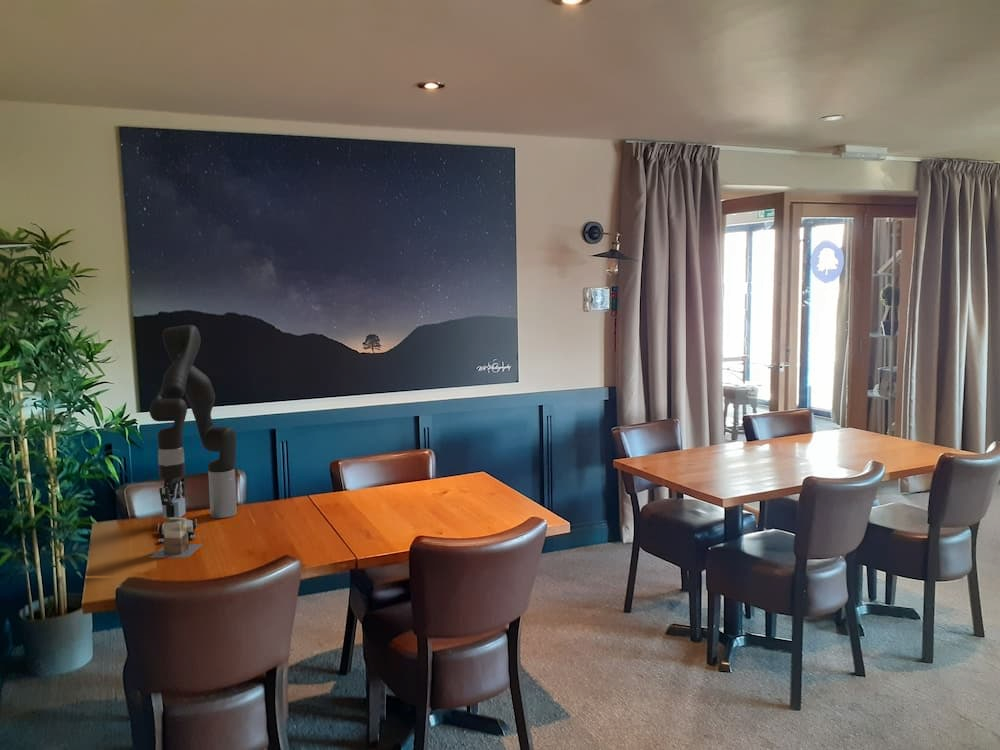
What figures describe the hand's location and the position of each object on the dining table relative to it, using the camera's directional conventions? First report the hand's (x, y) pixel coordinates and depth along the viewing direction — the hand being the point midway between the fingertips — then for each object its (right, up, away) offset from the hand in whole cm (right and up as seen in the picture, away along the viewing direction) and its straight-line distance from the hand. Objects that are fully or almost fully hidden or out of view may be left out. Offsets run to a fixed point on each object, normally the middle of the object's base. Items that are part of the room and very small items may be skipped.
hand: (174, 514), depth 236 cm
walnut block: (0, -12, +1) cm, 12 cm away
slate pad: (0, -13, +1) cm, 13 cm away
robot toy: (-6, -11, +16) cm, 21 cm away
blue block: (0, 0, 0) cm, 0 cm away
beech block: (0, -7, +1) cm, 7 cm away
